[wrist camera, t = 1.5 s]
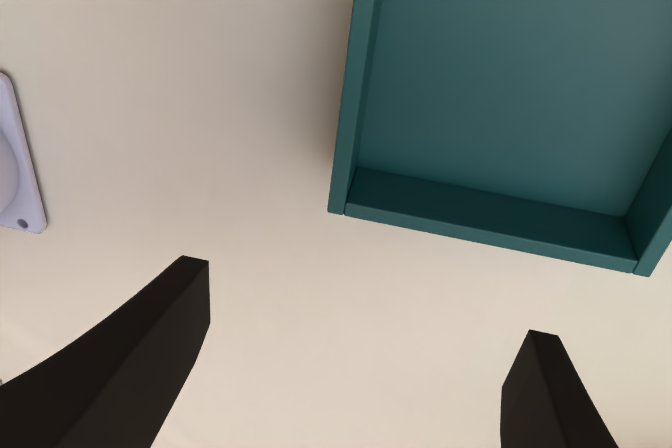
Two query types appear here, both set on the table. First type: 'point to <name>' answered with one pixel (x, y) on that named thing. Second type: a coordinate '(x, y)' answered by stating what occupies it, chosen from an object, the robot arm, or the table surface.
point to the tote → (512, 125)
